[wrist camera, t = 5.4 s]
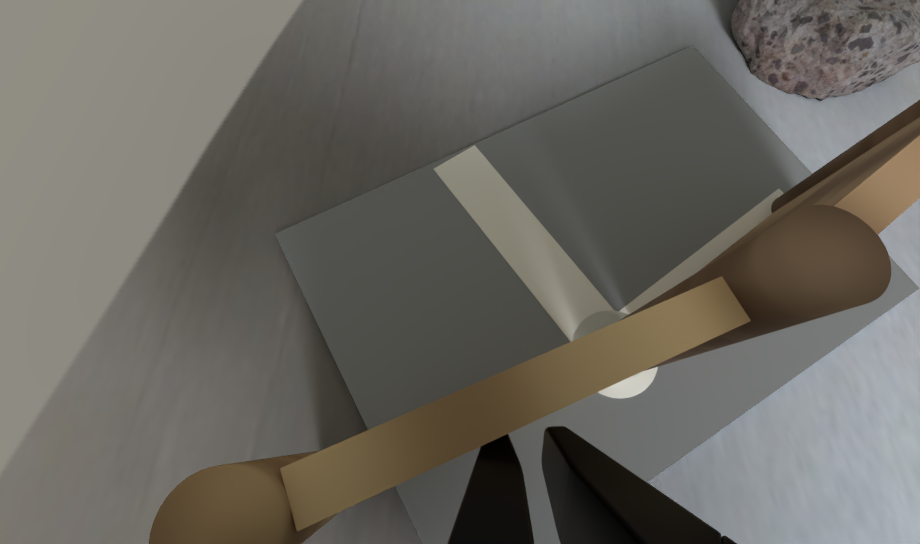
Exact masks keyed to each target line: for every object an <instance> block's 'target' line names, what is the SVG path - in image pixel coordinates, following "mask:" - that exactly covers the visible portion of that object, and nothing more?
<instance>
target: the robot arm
mask: <svg viewBox="0 0 920 544" xmlns="http://www.w3.org/2000/svg"><path fill="white" fill-rule="evenodd" d="M541 462H542V471H543V475H544V479H545V483H546V488H547V492H548V496H549V500H550V504H551V509H552V513H553V517H554V521H555V525H556V529H557V533H558V537H559V540H560V543H561V544H737V543H735V542H734V541H732V540H731V539H730V538H728V537H727V536H723V537H721V534H720V533H719V532H718V531H717V530H715V529H714V528H712V527H711V526H709V525H708V524H706V523H705V522H704V521H702V520H701V519H699V518H698V517H696V516H695V515H693V514H692V513H691V512H689V511H688V510H686V509H685V508H683V507H682V506H680V505H679V504H677V503H676V502H675V501H673V500H672V499H670V498H669V497H667V496H666V495H664V494H663V493H661V492H660V491H659V490H657V489H656V488H654V487H653V486H651V485H650V484H648V483H647V482H646V481H644V480H643V479H641V478H640V477H638V476H637V475H635V474H634V473H632V472H631V471H630V470H628V469H627V468H625V467H624V466H622V465H621V464H619V463H618V462H616V461H615V460H614V459H612V458H611V457H609V456H608V455H606V454H605V453H603V452H602V451H601V450H599V449H598V448H596V447H595V446H593V445H592V444H590V443H589V442H587V441H586V440H585V439H583V438H582V437H580V436H579V435H577V434H576V433H574V432H573V431H571V430H570V429H569V428H567V427H565V426H550V427H547V428H546V429H545V431H544V438H543V447H542V457H541ZM447 544H534V537H533V531H532V525H531V519H530V512H529V506H528V500H527V494H526V487H525V481H524V475H523V470H522V467H521V464H520V461H519V459H518V456H517V454H516V451H515V449H514V446H513V444H512V442H511V439H510V437H509V434H506V435H504V436H502V437H500V438H498V439H495V440H493V441H491V442H489V443H487V444H485V445H483V446H481V447H480V450H479V453H478V456H477V459H476V462H475V465H474V468H473V471H472V473H471V476H470V479H469V482H468V485H467V488H466V491H465V494H464V497H463V500H462V502H461V505H460V508H459V511H458V514H457V517H456V520H455V523H454V526H453V529H452V531H451V534H450V537H449V540H448V543H447Z"/></svg>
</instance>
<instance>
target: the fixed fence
mask: <svg viewBox="0 0 920 544" xmlns="http://www.w3.org/2000/svg"><path fill="white" fill-rule="evenodd" d="M919 198H920V100H919V101H917V102H916V103H915V104H913V105H912V106H910V107H909V108H907V109H906V110H904V111H903V112H901V113H900V114H899V115H897V116H896V117H894V118H893V119H891V120H890V121H888V122H887V123H886V124H884V125H883V126H881V127H880V128H878V129H877V130H875V131H874V132H872V133H871V134H870V135H868V136H867V137H865V138H864V139H862V140H861V141H859V142H858V143H856V144H855V145H854V146H852V147H851V148H849V149H848V150H846V151H845V152H843V153H842V154H840V155H839V156H838V157H836V158H835V159H833V160H832V161H830V162H829V163H827V164H826V165H825V166H823V167H822V168H820V169H819V170H817V171H816V172H814V173H813V174H811V175H810V176H809V177H807V178H806V179H804V180H803V181H801V182H800V183H798V184H797V185H795V186H794V187H793V188H791V189H790V190H788V191H787V192H785V193H784V194H782V195H781V196H780V197H778V198H777V199H775V200H774V201H773V203H772V206H771V211H772V214H771V215H769V216H768V217H767V218H766V219H764V220H763V221H762V222H761V223H759V224H758V225H757V226H755V227H754V228H753V229H752V230H750V231H749V232H748V233H747V234H745V235H744V236H743V237H741V238H740V239H739V240H738V241H736V242H735V243H734V244H733V245H731V246H730V247H729V248H727V249H726V250H725V251H724V252H722V253H721V254H720V255H719V256H717V257H716V258H715V259H713V260H712V261H711V262H710V263H708V264H707V265H706V266H705V267H703V268H702V269H701V270H699V271H698V272H697V273H695V274H694V275H692V276H691V277H689V278H687V279H686V280H684V281H682V282H681V283H679V284H678V285H676V286H674V287H673V288H671V289H669V290H668V291H666V292H665V293H663V294H661V295H660V296H658V297H656V298H655V299H653V300H652V301H650V302H648V303H647V304H645V305H643V306H642V307H640V308H639V309H637V310H635V311H634V312H632V313H630V314H629V315H627V316H626V317H624V318H622V319H625V318H627V317H629V316H631V315H634V314H636V313H638V312H641V311H643V310H645V309H648V308H650V307H652V306H654V305H657V304H659V303H661V302H664V301H666V300H668V299H671V298H673V297H675V296H677V295H680V294H682V293H684V292H687V291H689V290H691V289H694V288H696V287H698V286H700V285H703V284H705V283H707V282H710V281H712V280H714V279H717V278H719V277H721V276H722V277H723V279H724V280H725V282H726V283H727V285H728V286H729V288H730V289H731V291H732V293H733V294H734V296H735V297H736V299H737V300H738V302H739V303H740V305H741V306H742V308H743V309H744V311H745V313H746V314H747V316H748V317H749V319H750V320H751V321H750V322H747V323H745V324H743V325H741V326H739V327H737V328H735V329H732V330H730V331H728V332H726V333H724V334H722V335H719V336H717V337H715V338H713V339H711V340H709V341H707V342H704V343H702V344H700V345H698V346H696V347H694V348H691V349H689V350H687V351H685V352H683V353H681V354H679V355H676V356H674V357H672V358H670V359H668V360H666V361H663V362H661V363H659V364H657V365H655V366H653V367H651V368H648V369H646V370H649V369H652V368H655V367H659V366H662V365H665V364H669V363H672V362H675V361H679V360H682V359H685V358H689V357H692V356H695V355H699V354H702V353H705V352H708V351H712V350H715V349H718V348H722V347H725V346H728V345H732V344H735V343H738V342H742V341H745V340H748V339H752V338H755V337H758V336H761V335H765V334H768V333H771V332H775V331H778V330H781V329H785V328H788V327H791V326H795V325H798V324H801V323H805V322H808V321H811V320H815V319H818V318H821V317H824V316H828V315H831V314H834V313H838V312H841V311H844V310H848V309H851V308H854V307H858V306H861V305H864V304H867V303H870V302H873V301H875V300H876V299H878V298H879V297H880V296H882V294H883V293H884V292H885V291H886V289H887V287H888V285H889V283H890V279H891V262H890V258H889V255H888V252H887V250H886V248H885V246H884V244H883V242H882V241H881V239H880V238H879V236H878V234H879V233H880V232H881V231H882V230H884V229H885V228H886V227H887V226H888V225H889V224H890V223H891V222H893V221H894V220H895V219H896V218H897V217H898V216H899V215H901V214H902V213H903V212H904V211H905V210H906V209H907V208H908V207H910V206H911V205H912V204H913V203H914V202H915V201H916V200H918V199H919ZM622 319H621V320H622ZM619 321H620V320H619ZM617 322H618V321H617ZM644 371H645V370H644Z"/></svg>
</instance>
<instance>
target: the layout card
mask: <svg viewBox="0 0 920 544" xmlns="http://www.w3.org/2000/svg"><path fill="white" fill-rule="evenodd" d="M811 174H812V173H811V172H810V171H809V170H808V169H807V167H806V166H805V165H804V164H803V163H802V162H801V161H800V160H799V159H798V158H797V157H796V156H795V155H794V154H793V152H792V151H791V150H790V149H789V148H788V147H787V146H786V145H785V144H784V143H783V142H782V141H781V140H780V139H779V137H778V136H777V135H776V134H775V133H774V132H773V131H772V130H771V129H770V128H769V127H768V126H767V125H766V124H765V122H764V121H763V120H762V119H761V118H760V117H759V116H758V115H757V114H756V113H755V112H754V111H753V110H752V109H751V108H750V106H749V105H748V104H747V103H746V102H745V101H744V100H743V99H742V98H741V97H740V96H739V95H738V94H737V93H736V91H735V90H734V89H733V88H732V87H731V86H730V85H729V84H728V83H727V82H726V81H725V80H724V79H723V78H722V76H721V75H720V74H719V73H718V72H717V71H716V70H715V69H714V68H713V67H712V66H711V65H710V64H709V63H708V61H707V60H706V59H705V58H704V57H703V56H702V55H701V54H700V53H699V52H698V51H697V50H696V49H695V48H694V47H693V45H692V46H690V47H688V48H685V49H683V50H681V51H679V52H676V53H674V54H672V55H670V56H668V57H665V58H663V59H661V60H659V61H656V62H654V63H652V64H650V65H648V66H645V67H643V68H641V69H639V70H637V71H634V72H632V73H630V74H628V75H625V76H623V77H621V78H619V79H617V80H614V81H612V82H610V83H608V84H605V85H603V86H601V87H599V88H597V89H594V90H592V91H590V92H588V93H586V94H583V95H581V96H579V97H577V98H574V99H572V100H570V101H568V102H566V103H563V104H561V105H559V106H557V107H554V108H552V109H550V110H548V111H546V112H543V113H541V114H539V115H537V116H535V117H532V118H530V119H528V120H526V121H523V122H521V123H519V124H517V125H515V126H512V127H510V128H508V129H506V130H503V131H501V132H499V133H497V134H495V135H492V136H490V137H488V138H486V139H484V140H481V141H479V142H477V143H475V144H472V145H470V146H468V147H466V148H464V149H461V150H459V151H457V152H455V153H452V154H450V155H448V156H446V157H444V158H441V159H439V160H437V161H435V162H433V163H430V164H428V165H426V166H424V167H421V168H419V169H417V170H415V171H413V172H410V173H408V174H406V175H404V176H401V177H399V178H397V179H395V180H393V181H390V182H388V183H386V184H384V185H382V186H379V187H377V188H375V189H373V190H370V191H368V192H366V193H364V194H362V195H359V196H357V197H355V198H353V199H350V200H348V201H346V202H344V203H342V204H339V205H337V206H335V207H333V208H331V209H328V210H326V211H324V212H322V213H319V214H317V215H315V216H313V217H311V218H308V219H306V220H304V221H302V222H299V223H297V224H295V225H293V226H291V227H288V228H286V229H284V230H282V231H280V232H277V233H275V236H276V238H277V240H278V243H279V245H280V247H281V249H282V251H283V253H284V255H285V257H286V259H287V261H288V263H289V266H290V268H291V270H292V272H293V274H294V276H295V278H296V280H297V282H298V284H299V287H300V289H301V291H302V293H303V295H304V297H305V299H306V301H307V303H308V305H309V308H310V310H311V312H312V314H313V316H314V318H315V320H316V322H317V324H318V326H319V329H320V331H321V333H322V335H323V337H324V339H325V341H326V343H327V345H328V347H329V350H330V352H331V354H332V356H333V358H334V360H335V362H336V364H337V366H338V368H339V371H340V373H341V375H342V377H343V379H344V381H345V383H346V385H347V387H348V389H349V392H350V394H351V396H352V398H353V400H354V402H355V404H356V406H357V408H358V410H359V413H360V415H361V417H362V419H363V421H364V423H365V425H366V427H367V429H368V430H369V429H372V428H374V427H376V426H378V425H381V424H383V423H385V422H388V421H390V420H392V419H395V418H397V417H399V416H401V415H404V414H406V413H408V412H411V411H413V410H415V409H418V408H420V407H422V406H424V405H427V404H429V403H431V402H434V401H436V400H438V399H441V398H443V397H445V396H447V395H450V394H452V393H454V392H457V391H459V390H461V389H464V388H466V387H468V386H470V385H473V384H475V383H477V382H480V381H482V380H484V379H487V378H489V377H491V376H493V375H496V374H498V373H500V372H503V371H505V370H507V369H510V368H512V367H514V366H516V365H519V364H521V363H523V362H526V361H528V360H530V359H533V358H535V357H537V356H539V355H542V354H544V353H546V352H549V351H551V350H553V349H556V348H558V347H560V346H562V345H565V344H567V343H569V342H572V341H574V340H576V339H579V338H581V337H583V336H585V335H588V334H590V333H592V332H595V331H597V330H599V329H602V328H604V327H606V326H608V325H611V324H613V323H615V322H617V321H619V320H621V319H622V318H624V317H626V316H627V315H629V314H630V313H632V312H634V311H635V310H637V309H639V308H640V307H642V306H643V305H645V304H647V303H648V302H650V301H652V300H653V299H655V298H656V297H658V296H660V295H661V294H663V293H665V292H666V291H668V290H669V289H671V288H673V287H674V286H676V285H678V284H679V283H681V282H682V281H684V280H686V279H687V278H689V277H691V276H692V275H694V274H695V273H697V272H698V271H699V270H701V269H702V268H703V267H705V266H706V265H707V264H708V263H710V262H711V261H712V260H713V259H715V258H716V257H717V256H719V255H720V254H721V253H722V252H724V251H725V250H726V249H727V248H729V247H730V246H731V245H733V244H734V243H735V242H736V241H738V240H739V239H740V238H741V237H743V236H744V235H745V234H747V233H748V232H749V231H750V230H752V229H753V228H754V227H755V226H757V225H758V224H759V223H761V222H762V221H763V220H764V219H766V218H767V217H768V216H769V215H771V214H772V211H771V206H772V203H773V201H774V200H775V199H777V198H778V197H780V196H781V195H782V194H784V193H785V192H787V191H788V190H790V189H791V188H793V187H794V186H795V185H797V184H798V183H800V182H801V181H803V180H804V179H806V178H807V177H809V176H810V175H811ZM889 258H890V262H891V279H890V283H889V285H888V287H887V289H886V291H885V292H884V293H883V294H882V296H880V297H879V298H878V299H876V300H875V301H873V302H870V303H867V304H864V305H861V306H858V307H854V308H851V309H848V310H844V311H841V312H838V313H834V314H831V315H828V316H824V317H821V318H818V319H815V320H811V321H808V322H805V323H801V324H798V325H795V326H791V327H788V328H785V329H781V330H778V331H775V332H771V333H768V334H765V335H761V336H758V337H755V338H752V339H748V340H745V341H742V342H738V343H735V344H732V345H728V346H725V347H722V348H718V349H715V350H712V351H708V352H705V353H702V354H699V355H695V356H692V357H689V358H685V359H682V360H679V361H675V362H672V363H669V364H665V365H662V366H659V367H655V368H652V369H649V370H645V371H642V372H640V373H638V374H635V375H633V376H631V377H629V378H627V379H625V380H623V381H620V382H618V383H616V384H614V385H612V386H610V387H607V388H605V389H603V390H601V391H599V392H597V393H595V394H592V395H590V396H588V397H586V398H584V399H582V400H579V401H577V402H575V403H573V404H571V405H569V406H567V407H564V408H562V409H560V410H558V411H556V412H554V413H551V414H549V415H547V416H545V417H543V418H541V419H539V420H536V421H534V422H532V423H530V424H528V425H526V426H523V427H521V428H519V429H517V430H515V431H513V432H511V433H508V434H509V437H510V439H511V442H512V444H513V446H514V449H515V451H516V454H517V456H518V459H519V461H520V464H521V467H522V470H523V475H524V481H525V487H526V494H527V500H528V506H529V512H530V519H531V525H532V531H533V537H534V544H561V543H560V540H559V537H558V533H557V529H556V525H555V521H554V517H553V513H552V509H551V504H550V500H549V496H548V492H547V488H546V483H545V479H544V475H543V471H542V462H541V457H542V447H543V438H544V431H545V429H546V428H547V427H550V426H565V427H567V428H569V429H570V430H571V431H573V432H574V433H576V434H577V435H579V436H580V437H582V438H583V439H585V440H586V441H587V442H589V443H590V444H592V445H593V446H595V447H596V448H598V449H599V450H601V451H602V452H603V453H605V454H606V455H608V456H609V457H611V458H612V459H614V460H615V461H616V462H618V463H619V464H621V465H622V466H624V467H625V468H627V469H628V470H630V471H631V472H632V473H634V474H635V475H637V476H638V477H640V478H641V479H643V480H644V481H646V482H648V481H649V480H651V479H652V478H654V477H655V476H656V475H658V474H659V473H661V472H662V471H663V470H665V469H666V468H668V467H669V466H671V465H672V464H673V463H675V462H676V461H678V460H679V459H680V458H682V457H683V456H685V455H686V454H687V453H689V452H690V451H692V450H693V449H694V448H696V447H697V446H699V445H700V444H701V443H703V442H704V441H706V440H707V439H708V438H710V437H711V436H713V435H714V434H715V433H717V432H718V431H720V430H721V429H722V428H724V427H725V426H727V425H728V424H729V423H731V422H732V421H734V420H735V419H736V418H738V417H739V416H741V415H742V414H744V413H745V412H746V411H748V410H749V409H751V408H752V407H753V406H755V405H756V404H758V403H759V402H760V401H762V400H763V399H765V398H766V397H767V396H769V395H770V394H772V393H773V392H774V391H776V390H777V389H779V388H780V387H781V386H783V385H784V384H786V383H787V382H788V381H790V380H791V379H793V378H794V377H795V376H797V375H798V374H800V373H801V372H802V371H804V370H805V369H807V368H808V367H810V366H811V365H812V364H814V363H815V362H817V361H818V360H819V359H821V358H822V357H824V356H825V355H826V354H828V353H829V352H831V351H832V350H833V349H835V348H836V347H838V346H839V345H840V344H842V343H843V342H845V341H846V340H847V339H849V338H850V337H852V336H853V335H854V334H856V333H857V332H859V331H860V330H861V329H863V328H864V327H866V326H867V325H868V324H870V323H871V322H873V321H874V320H876V319H877V318H878V317H880V316H881V315H883V314H884V313H885V312H887V311H888V310H890V309H891V308H892V307H894V306H895V305H897V304H898V303H899V302H901V301H902V300H904V299H905V298H906V297H908V296H909V295H911V294H912V293H913V292H915V291H916V290H918V289H919V287H918V286H917V285H916V284H915V283H914V282H913V281H912V280H911V279H910V278H909V277H908V276H907V274H906V273H905V272H904V271H903V270H902V269H901V268H900V267H899V266H898V265H897V264H896V263H895V262H894V261H893V259H892V258H891V257H890V256H889ZM480 447H481V446H480ZM480 447H478V448H476V449H474V450H472V451H470V452H467V453H465V454H463V455H461V456H459V457H457V458H455V459H452V460H450V461H448V462H446V463H444V464H442V465H439V466H437V467H435V468H433V469H431V470H429V471H427V472H424V473H422V474H420V475H418V476H416V477H414V478H411V479H409V480H407V481H405V482H403V483H401V484H399V485H396V486H395V488H396V490H397V492H398V494H399V496H400V499H401V501H402V503H403V505H404V507H405V509H406V511H407V513H408V515H409V517H410V520H411V522H412V524H413V526H414V528H415V530H416V532H417V534H418V536H419V538H420V541H421V543H422V544H447V543H448V540H449V537H450V534H451V531H452V529H453V526H454V523H455V520H456V517H457V514H458V511H459V508H460V505H461V502H462V500H463V497H464V494H465V491H466V488H467V485H468V482H469V479H470V476H471V473H472V471H473V468H474V465H475V462H476V459H477V456H478V453H479V450H480Z"/></svg>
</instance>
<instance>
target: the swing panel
mask: <svg viewBox="0 0 920 544" xmlns="http://www.w3.org/2000/svg"><path fill="white" fill-rule="evenodd" d="M750 321H751V320H750V319H749V317H748V316H747V314H746V313H745V311H744V309H743V308H742V306H741V305H740V303H739V302H738V300H737V299H736V297H735V296H734V294H733V293H732V291H731V289H730V288H729V286H728V285H727V283H726V282H725V280H724V279H723V277H722V276H721V277H719V278H717V279H714V280H712V281H710V282H707V283H705V284H703V285H700V286H698V287H696V288H694V289H691V290H689V291H687V292H684V293H682V294H680V295H677V296H675V297H673V298H671V299H668V300H666V301H664V302H661V303H659V304H657V305H654V306H652V307H650V308H648V309H645V310H643V311H641V312H638V313H636V314H634V315H631V316H629V317H627V318H625V319H622V320H620V321H618V322H615V323H613V324H611V325H608V326H606V327H604V328H602V329H599V330H597V331H595V332H592V333H590V334H588V335H585V336H583V337H581V338H579V339H576V340H574V341H572V342H569V343H567V344H565V345H562V346H560V347H558V348H556V349H553V350H551V351H549V352H546V353H544V354H542V355H539V356H537V357H535V358H533V359H530V360H528V361H526V362H523V363H521V364H519V365H516V366H514V367H512V368H510V369H507V370H505V371H503V372H500V373H498V374H496V375H493V376H491V377H489V378H487V379H484V380H482V381H480V382H477V383H475V384H473V385H470V386H468V387H466V388H464V389H461V390H459V391H457V392H454V393H452V394H450V395H447V396H445V397H443V398H441V399H438V400H436V401H434V402H431V403H429V404H427V405H424V406H422V407H420V408H418V409H415V410H413V411H411V412H408V413H406V414H404V415H401V416H399V417H397V418H395V419H392V420H390V421H388V422H385V423H383V424H381V425H378V426H376V427H374V428H372V429H369V430H367V431H365V432H362V433H360V434H358V435H355V436H353V437H351V438H349V439H346V440H344V441H342V442H339V443H337V444H335V445H332V446H330V447H328V448H326V449H323V450H321V451H315V452H308V453H301V454H295V455H288V456H281V457H274V458H267V459H260V460H253V461H246V462H239V463H233V464H226V465H219V466H214V467H209V468H206V469H203V470H201V471H199V472H197V473H194V474H193V475H191V476H189V477H188V478H186V479H185V480H184V481H182V482H181V483H180V484H179V485H178V486H177V487H176V488H175V489H174V490H173V491H172V492H171V493H170V494H169V495H168V497H167V498H166V499H165V501H164V502H163V504H162V505H161V507H160V509H159V511H158V513H157V515H156V517H155V520H154V522H153V525H152V529H151V533H150V538H149V544H301V543H303V542H304V541H305V540H306V539H307V538H309V537H310V536H311V535H312V534H314V533H315V532H316V531H317V530H318V529H320V528H321V527H322V526H323V525H324V524H326V523H327V522H328V521H329V520H331V519H332V518H333V517H334V516H335V515H337V514H338V513H339V512H340V511H343V510H345V509H347V508H349V507H351V506H353V505H355V504H358V503H360V502H362V501H364V500H366V499H368V498H371V497H373V496H375V495H377V494H379V493H381V492H383V491H386V490H388V489H390V488H392V487H394V486H396V485H399V484H401V483H403V482H405V481H407V480H409V479H411V478H414V477H416V476H418V475H420V474H422V473H424V472H427V471H429V470H431V469H433V468H435V467H437V466H439V465H442V464H444V463H446V462H448V461H450V460H452V459H455V458H457V457H459V456H461V455H463V454H465V453H467V452H470V451H472V450H474V449H476V448H478V447H480V446H483V445H485V444H487V443H489V442H491V441H493V440H495V439H498V438H500V437H502V436H504V435H506V434H508V433H511V432H513V431H515V430H517V429H519V428H521V427H523V426H526V425H528V424H530V423H532V422H534V421H536V420H539V419H541V418H543V417H545V416H547V415H549V414H551V413H554V412H556V411H558V410H560V409H562V408H564V407H567V406H569V405H571V404H573V403H575V402H577V401H579V400H582V399H584V398H586V397H588V396H590V395H592V394H595V393H597V392H599V391H601V390H603V389H605V388H607V387H610V386H612V385H614V384H616V383H618V382H620V381H623V380H625V379H627V378H629V377H631V376H633V375H635V374H638V373H640V372H642V371H644V370H646V369H648V368H651V367H653V366H655V365H657V364H659V363H661V362H663V361H666V360H668V359H670V358H672V357H674V356H676V355H679V354H681V353H683V352H685V351H687V350H689V349H691V348H694V347H696V346H698V345H700V344H702V343H704V342H707V341H709V340H711V339H713V338H715V337H717V336H719V335H722V334H724V333H726V332H728V331H730V330H732V329H735V328H737V327H739V326H741V325H743V324H745V323H747V322H750Z"/></svg>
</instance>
